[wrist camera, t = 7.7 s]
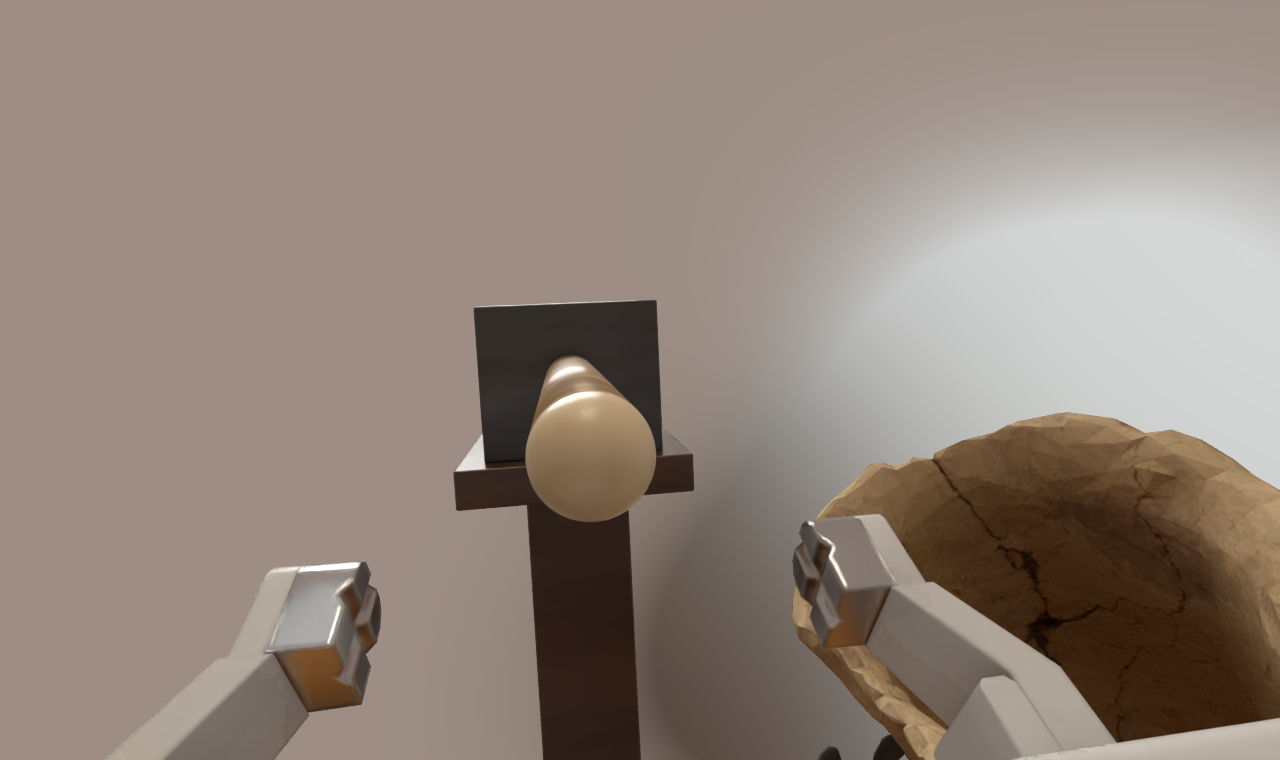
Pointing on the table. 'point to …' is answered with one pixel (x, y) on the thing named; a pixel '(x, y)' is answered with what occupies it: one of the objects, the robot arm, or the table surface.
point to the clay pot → (1088, 571)
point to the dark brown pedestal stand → (578, 605)
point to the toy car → (883, 756)
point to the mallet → (573, 400)
